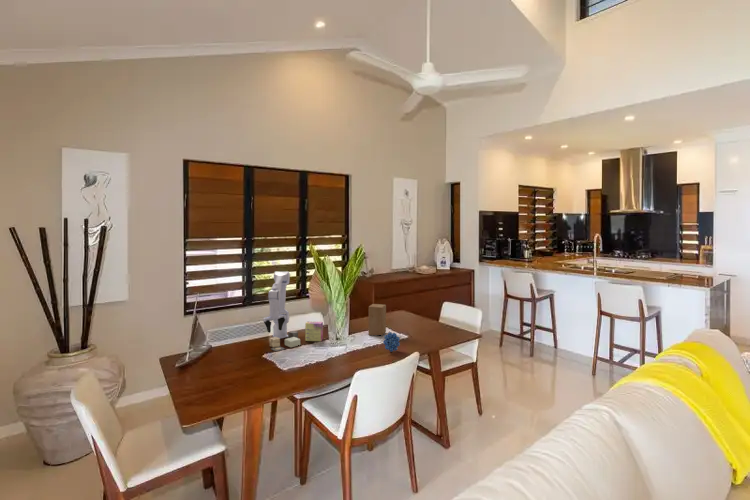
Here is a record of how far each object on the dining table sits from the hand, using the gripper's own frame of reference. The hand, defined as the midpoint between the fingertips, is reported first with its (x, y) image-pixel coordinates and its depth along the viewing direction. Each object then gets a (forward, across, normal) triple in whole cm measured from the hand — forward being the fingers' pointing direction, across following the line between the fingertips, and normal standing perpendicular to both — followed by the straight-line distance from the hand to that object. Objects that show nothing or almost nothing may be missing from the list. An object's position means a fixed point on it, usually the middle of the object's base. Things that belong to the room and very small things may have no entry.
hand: (274, 331), depth 234 cm
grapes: (+10, +43, -60) cm, 74 cm away
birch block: (+10, 0, 0) cm, 10 cm away
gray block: (+10, +16, +4) cm, 19 cm away
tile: (+9, -2, -7) cm, 12 cm away
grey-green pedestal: (+10, +9, -6) cm, 15 cm away
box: (+10, +25, -7) cm, 28 cm away
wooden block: (+10, +65, -26) cm, 71 cm away
